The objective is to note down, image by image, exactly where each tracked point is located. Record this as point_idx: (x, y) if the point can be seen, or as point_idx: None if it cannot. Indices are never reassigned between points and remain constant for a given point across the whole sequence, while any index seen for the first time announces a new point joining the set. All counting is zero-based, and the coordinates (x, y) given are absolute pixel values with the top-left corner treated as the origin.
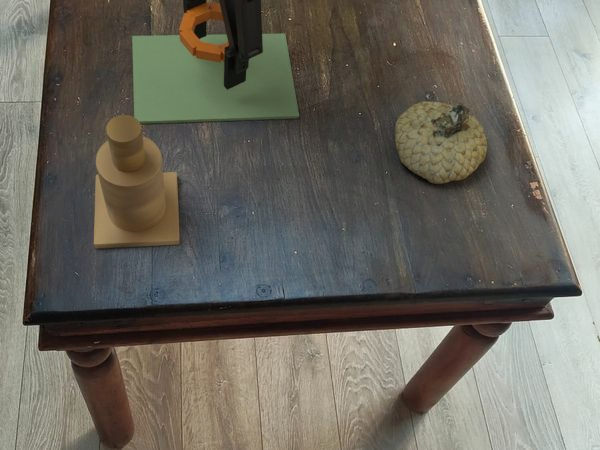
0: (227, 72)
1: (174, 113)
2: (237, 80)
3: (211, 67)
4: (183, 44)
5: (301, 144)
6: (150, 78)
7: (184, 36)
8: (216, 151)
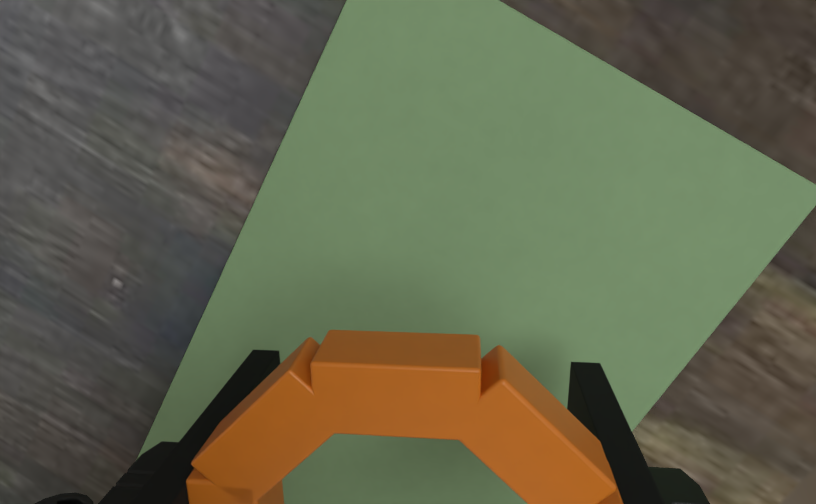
0: (208, 409)
1: (333, 114)
2: None
3: None
4: (437, 335)
5: (43, 411)
6: (555, 128)
7: (427, 375)
8: (120, 160)
